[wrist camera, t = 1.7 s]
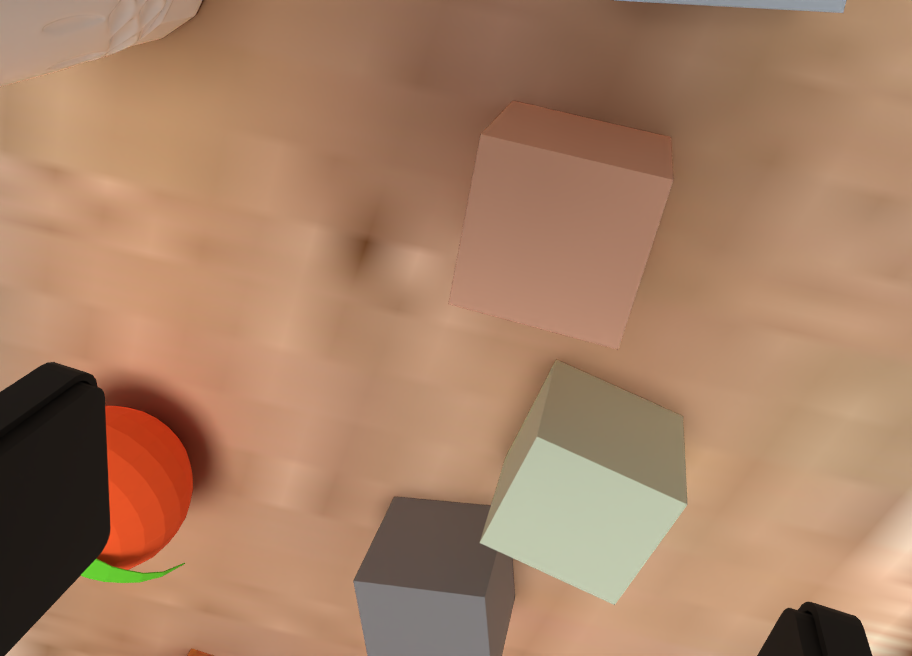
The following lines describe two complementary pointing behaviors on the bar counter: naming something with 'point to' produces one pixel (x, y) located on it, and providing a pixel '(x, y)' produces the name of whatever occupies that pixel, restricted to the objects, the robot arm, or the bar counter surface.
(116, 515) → the clementine
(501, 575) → the charcoal block
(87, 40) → the white cup
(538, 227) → the terracotta block
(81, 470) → the robot arm
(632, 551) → the sage block
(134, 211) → the bar counter surface
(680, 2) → the slate block
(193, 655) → the pasta box
